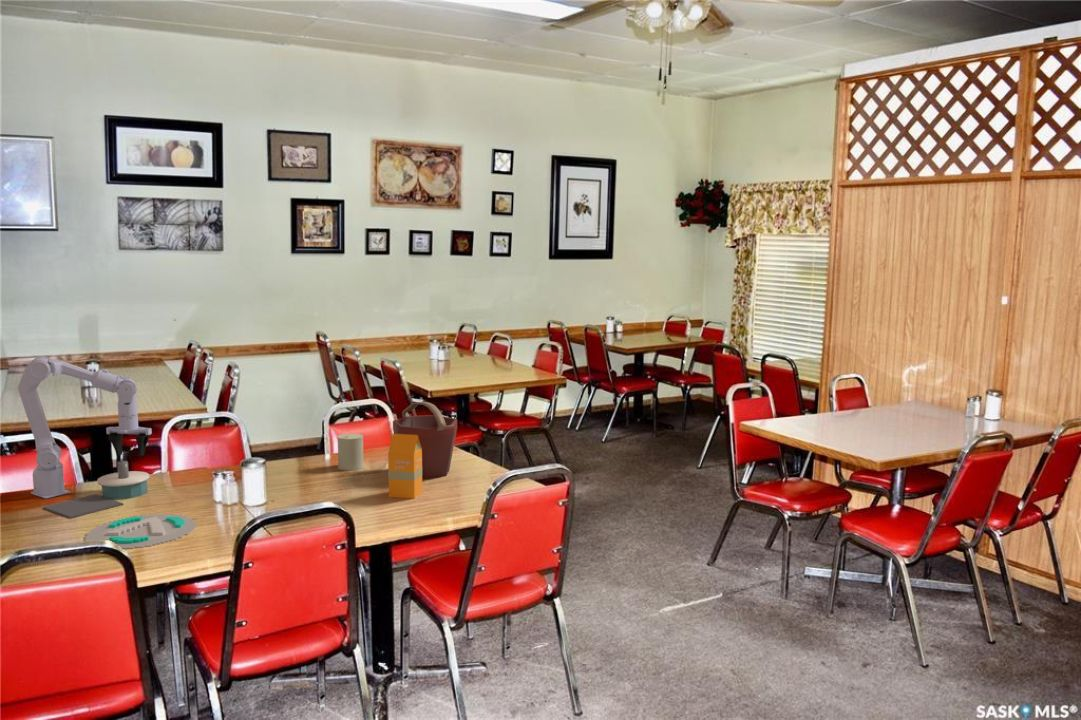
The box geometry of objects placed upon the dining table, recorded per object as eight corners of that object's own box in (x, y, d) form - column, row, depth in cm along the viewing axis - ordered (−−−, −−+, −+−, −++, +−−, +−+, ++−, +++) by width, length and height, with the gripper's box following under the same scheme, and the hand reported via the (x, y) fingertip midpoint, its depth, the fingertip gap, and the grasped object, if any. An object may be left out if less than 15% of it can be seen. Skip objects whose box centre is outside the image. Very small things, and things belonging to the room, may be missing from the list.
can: (333, 469, 307) (332, 436, 305) (346, 463, 316) (345, 431, 314) (356, 471, 304) (355, 438, 302) (368, 465, 313) (367, 433, 311)
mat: (43, 508, 260) (43, 506, 260) (95, 495, 273) (95, 494, 273) (70, 518, 251) (70, 516, 251) (123, 504, 264) (123, 503, 264)
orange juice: (414, 498, 273) (413, 437, 270) (388, 496, 275) (387, 436, 272) (422, 491, 280) (422, 432, 278) (397, 490, 282) (396, 430, 279)
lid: (86, 482, 272) (85, 464, 271) (127, 471, 285) (126, 454, 284) (119, 488, 265) (118, 470, 264) (159, 477, 279) (158, 459, 278)
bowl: (94, 494, 274) (93, 481, 274) (132, 485, 285) (132, 472, 284) (116, 501, 267) (115, 487, 266) (155, 491, 278) (154, 478, 277)
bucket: (388, 466, 311) (387, 399, 307) (447, 461, 319) (446, 395, 316) (405, 484, 288) (404, 412, 285) (467, 478, 297) (467, 407, 294)
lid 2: (209, 516, 255) (209, 511, 255) (172, 550, 228) (172, 544, 228) (114, 516, 254) (114, 511, 254) (65, 550, 227) (65, 545, 227)
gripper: (99, 416, 277) (102, 457, 279) (142, 418, 276) (144, 459, 278) (112, 412, 284) (114, 452, 286) (154, 413, 283) (156, 453, 285)
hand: (130, 455), depth 283 cm, fingers open, 7 cm apart
